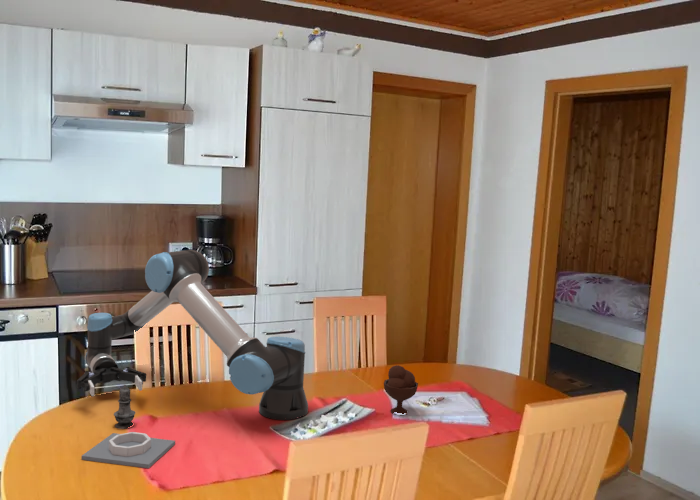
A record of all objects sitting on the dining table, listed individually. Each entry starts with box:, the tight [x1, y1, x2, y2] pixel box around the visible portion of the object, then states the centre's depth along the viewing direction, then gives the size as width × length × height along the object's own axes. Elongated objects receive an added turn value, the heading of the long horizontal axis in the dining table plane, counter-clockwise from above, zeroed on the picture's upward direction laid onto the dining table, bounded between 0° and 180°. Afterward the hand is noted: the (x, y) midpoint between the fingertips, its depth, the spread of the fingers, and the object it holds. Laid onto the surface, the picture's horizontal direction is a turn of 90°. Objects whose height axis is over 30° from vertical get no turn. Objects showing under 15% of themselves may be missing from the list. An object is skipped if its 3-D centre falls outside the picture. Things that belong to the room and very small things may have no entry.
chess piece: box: [113, 384, 136, 430], centre depth 187 cm, size 6×6×12 cm
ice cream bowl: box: [383, 364, 419, 415], centre depth 207 cm, size 11×11×15 cm
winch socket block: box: [81, 431, 176, 469], centre depth 170 cm, size 18×15×3 cm
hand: (117, 388), depth 195 cm, fingers open, 13 cm apart
